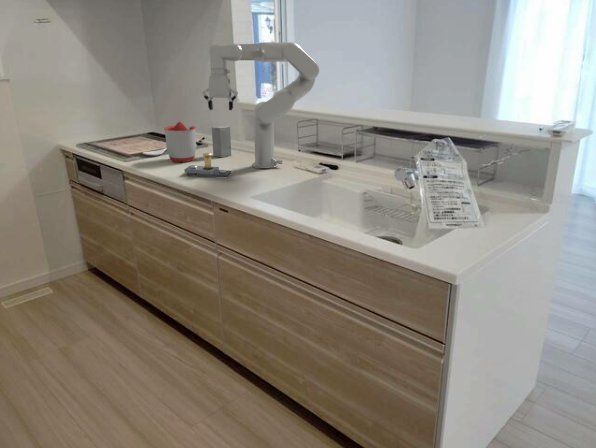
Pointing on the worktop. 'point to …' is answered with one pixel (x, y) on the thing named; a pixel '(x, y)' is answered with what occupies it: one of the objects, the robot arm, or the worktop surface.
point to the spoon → (156, 152)
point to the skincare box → (221, 141)
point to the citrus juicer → (180, 142)
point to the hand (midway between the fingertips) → (220, 109)
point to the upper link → (199, 170)
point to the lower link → (216, 174)
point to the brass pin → (207, 160)
